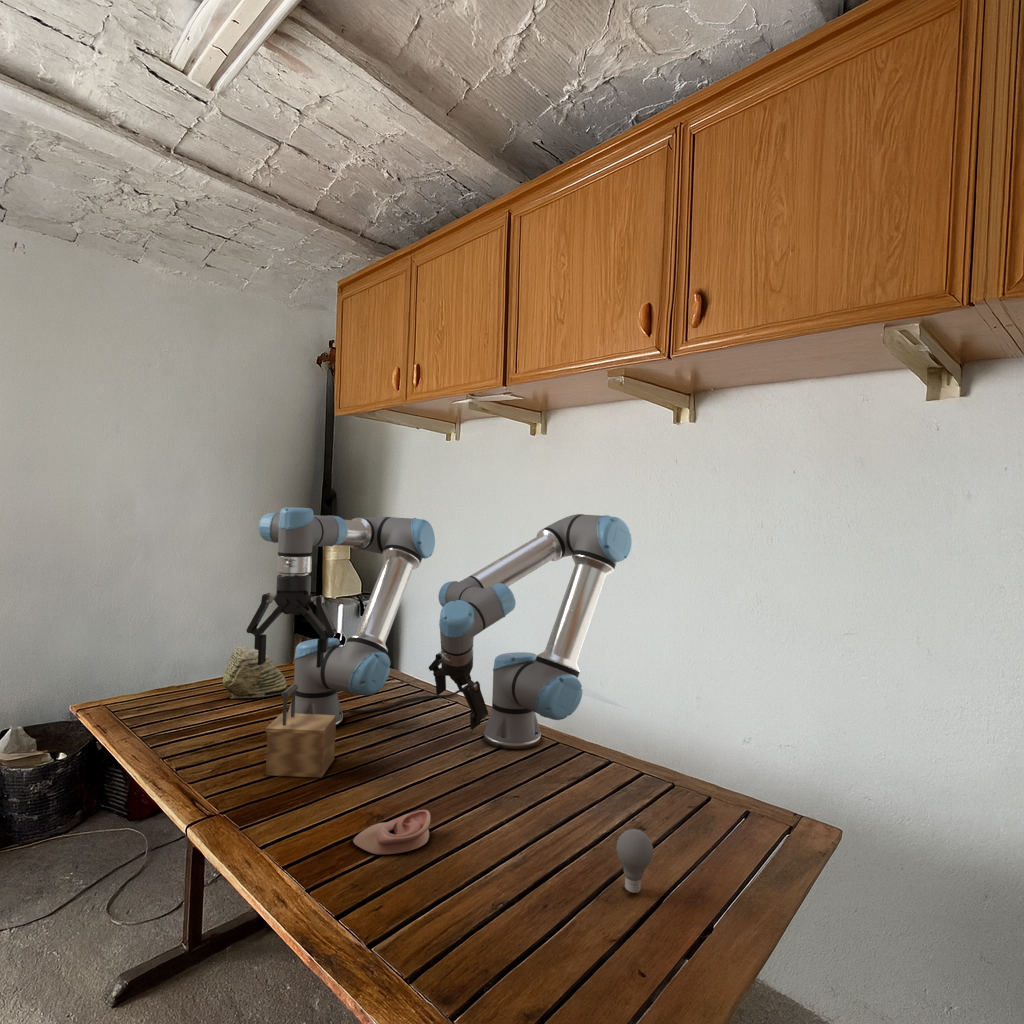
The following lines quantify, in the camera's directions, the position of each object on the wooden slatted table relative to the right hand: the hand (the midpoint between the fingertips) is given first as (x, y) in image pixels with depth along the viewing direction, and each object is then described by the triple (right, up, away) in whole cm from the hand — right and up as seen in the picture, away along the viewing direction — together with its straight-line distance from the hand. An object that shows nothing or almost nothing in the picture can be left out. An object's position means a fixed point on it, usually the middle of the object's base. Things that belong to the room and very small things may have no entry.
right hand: (457, 708), depth 162 cm
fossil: (-67, -7, +36) cm, 76 cm away
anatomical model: (-9, -11, -43) cm, 46 cm away
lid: (-35, 0, -14) cm, 38 cm away
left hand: (-38, +15, -14) cm, 43 cm away
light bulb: (+34, -13, -56) cm, 67 cm away
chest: (-35, -9, -14) cm, 39 cm away
